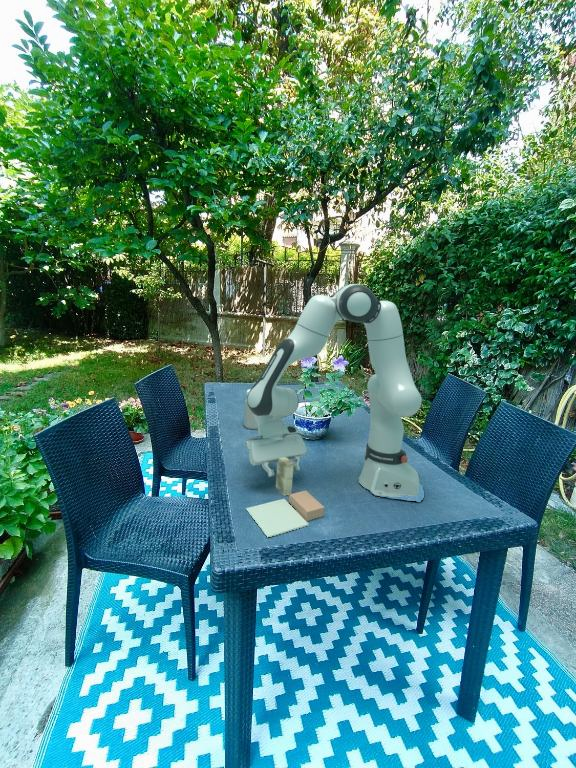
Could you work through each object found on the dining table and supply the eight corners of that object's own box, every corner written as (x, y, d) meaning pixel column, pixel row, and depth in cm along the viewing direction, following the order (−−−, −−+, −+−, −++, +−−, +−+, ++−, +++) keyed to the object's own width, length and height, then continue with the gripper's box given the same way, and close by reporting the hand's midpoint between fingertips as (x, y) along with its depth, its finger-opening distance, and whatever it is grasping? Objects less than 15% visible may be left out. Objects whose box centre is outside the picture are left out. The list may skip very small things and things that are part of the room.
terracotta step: (288, 503, 109) (289, 494, 108) (305, 498, 112) (305, 490, 111) (306, 521, 101) (307, 512, 100) (323, 516, 104) (324, 507, 103)
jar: (254, 431, 164) (256, 394, 160) (239, 426, 170) (240, 390, 166) (267, 426, 172) (270, 391, 168) (253, 421, 178) (254, 387, 173)
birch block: (275, 487, 118) (277, 456, 115) (282, 485, 119) (284, 455, 116) (284, 496, 113) (286, 464, 110) (291, 494, 114) (293, 463, 111)
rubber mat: (245, 510, 104) (245, 508, 104) (284, 500, 110) (284, 498, 110) (267, 538, 92) (267, 536, 92) (308, 525, 99) (308, 524, 99)
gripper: (247, 434, 112) (259, 476, 107) (301, 427, 123) (314, 464, 117) (241, 442, 117) (252, 482, 111) (293, 434, 128) (306, 470, 122)
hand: (284, 473), depth 114 cm, fingers open, 8 cm apart
